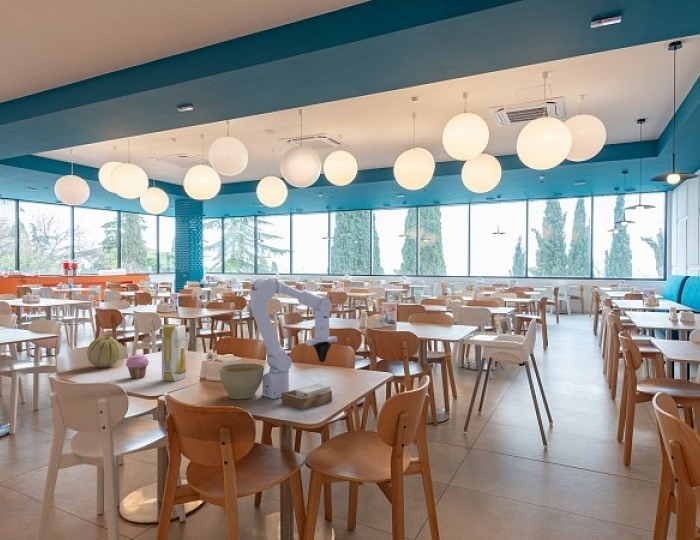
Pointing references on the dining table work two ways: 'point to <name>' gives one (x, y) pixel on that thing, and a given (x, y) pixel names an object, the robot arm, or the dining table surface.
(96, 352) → the cantaloupe
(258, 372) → the planter bowl
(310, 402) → the walnut cradle
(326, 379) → the dining table surface
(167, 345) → the juice carton
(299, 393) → the skincare box
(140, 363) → the cupcake
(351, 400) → the dining table surface
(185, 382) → the dining table surface
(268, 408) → the dining table surface
